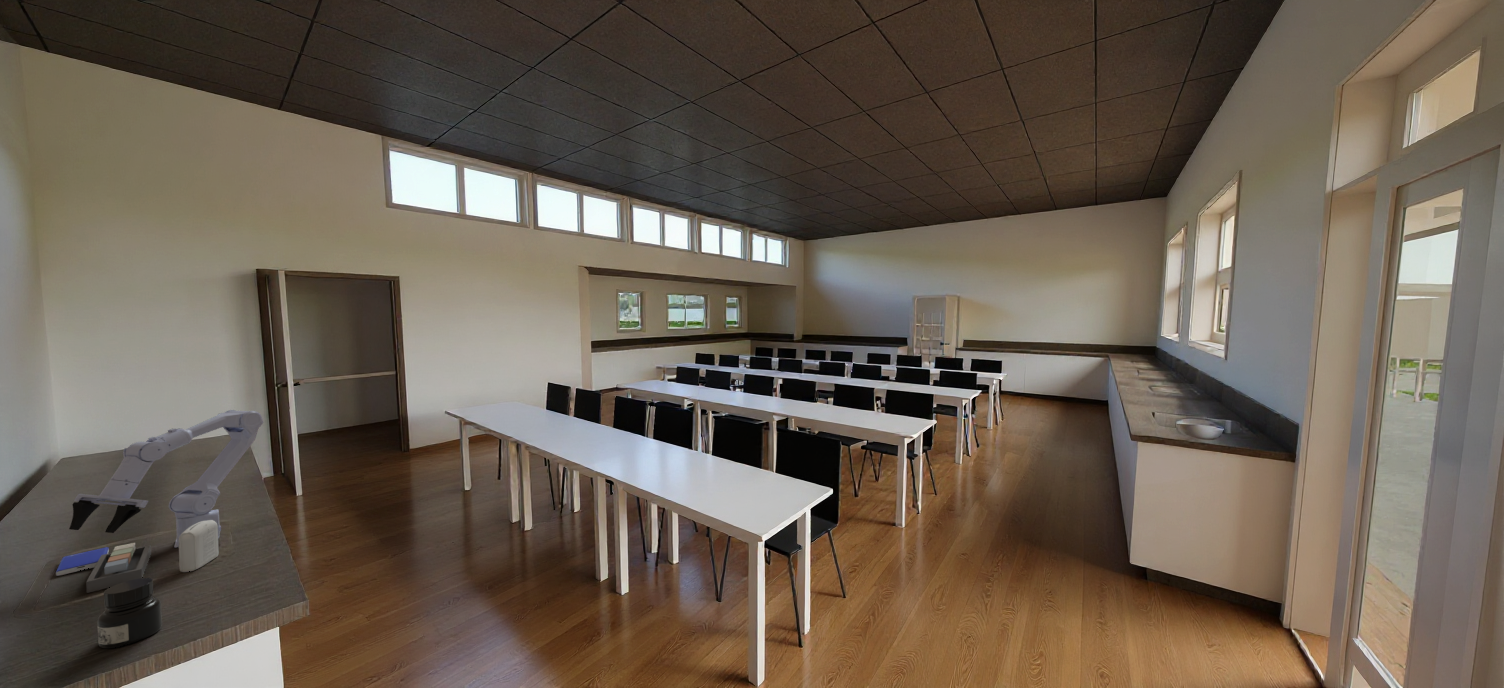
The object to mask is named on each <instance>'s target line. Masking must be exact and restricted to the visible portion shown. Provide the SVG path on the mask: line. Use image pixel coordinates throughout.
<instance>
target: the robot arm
mask: <svg viewBox="0 0 1504 688" xmlns="http://www.w3.org/2000/svg"><path fill="white" fill-rule="evenodd" d="M263 424H264V420H263V416H262V414H261V413H260V412H259V411H257V410H237V409H236V410H235V409H230V410H226V411H224V412H220V413H218V414H217V415H215V416H213V417H211V418H209V419H206V420H203V421H202V422H199V423H197V424H194V425H191V426H189V427H188V428H169V429H167V432H165V433H162V434H159V435H157V436H151V437H149V438H147V440H146V441H136V442H134V443H132V444H130V445H129V446H128V447H125V448H124V449H123V450H122V451H123V452H122V456H123V459H122V460H121V461H120V464H119V465H118V468H116V470H115V472H114V473H113V475H112V476H111V477H110V479H109V480H108V481H107V484H105V486H104V488H103V489H102V490H101V492H100V494H97V495H96V494H86V493H85V494H84V493H78V494H77V495H76V496H75V498H74V499H73V503H72V519H71V523H70V525H69V528H68V530H70V531H71V530H72V531H79V530H80V529H81V528H82V526H83V525H84V524H85V522H86V521H87V519H88V518H89V517H90V516H91V514H93V513H94V512H95V511H96V510H97V509H98V508H99V507H101V506H100V505H101V504H103V505H113V506H117V507H116V511H115V512H114V515H113V518H112V520H111V521H110V523H109V524H108V526H107V527H106V529H105V531H104V532H105V533H109V534H114V533H115V532H116V531H117V530H119V528H120V527H121V526H122V525H124V524H125V523H126V522H127V521H128V520H130V519H131V518H132V517H134V516H135V515H137V514H138V513H140V512H141V511H142V509H141V508H144V509H145V507H146V506H147V504H148V503H149V500H145V499H136V498H131V497H132V495H133V494H134V492H135V491H136V489H137V488H138V486H139V485H140V484H141V482H142V480H143V479H144V477H145V476H146V474H147V473H148V471H149V469H151V467H152V465H153V463H154V462H155V461H158V460H162V458H164V457H165V456H166V454H168V453H170V452H173V451H175V450H178V449H179V448H182V447H184V446H186V445H189V444H190V443H191V442H192V440H193V438H196V437H197V438H198V437H199V436H202V435H204V434H207V433H210V432H213V431H216V430H218V429H220V428H221V429H222V428H223V429H224V430H225V432H226V433H227V434H228V435H229V437H230V440H229V441H228V443H227V444H226V445H225V446H224V448H223V449H222V450H221V451H220V452H219V454H218V455H217V456H216V457H215V459H214V460H213V461H212V462H211V463H210V464H209V466H208V467H207V468H206V470H205V471H204V472H203V473H202V474H201V475H200V477H198V479H197V480H196V481H195V482H194V483H191V484H189V485H188V486H186V487H184V488H183V489H182V490H181V491H180V492H179V493H177V494H176V495H174V496H173V497H172V498H171V499H170V500H169V502H168V509H169V510H170V511H171V512H173V513H174V516H175V523H176V539H175V543H174V546H173V547H174V548H175V549H176V548H179V537H180V535H181V534H182V533H183V532H184V531H185V530H186V529H188V528H189V527H190V526H192V525H194V524H196V523H198V522H201V521H207V520H213V521H215V522H216V523H217V525H218V539H220V535H221V534H220V533H221V531H222V525H220V511H219V510H220V509H213V508H214V507H215V505H216V502H217V499H218V498H219V497H220V496H221V491H220V490H219V487H220V485H221V484H222V482H223V481H224V480H225V479H226V477H227V476H228V475H229V473H230V472H231V471H232V470H233V469H234V468H235V466H236V465H237V463H239V461H240V460H241V458H242V457H243V456H244V454H245V453H246V452H247V451H248V450H249V448H250V447H251V446H252V444H253V443H254V442H255V440H256V438H257V434H258V430H260V427H261V426H262V425H263Z"/></svg>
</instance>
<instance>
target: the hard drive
mask: <svg viewBox="0 0 1504 688" xmlns="http://www.w3.org/2000/svg"><path fill="white" fill-rule="evenodd" d="M109 551H110V549H109V547H107V546H105V547H101V548H98V549H93V550H88V551H84V552H79V553H75V554H70V555H65V556H63V557H62V558H61V560H60V563H59V565H58V567H57V569H56V571H55V576H63V575H64V576H65V575H67V574H71V573H76V572H80V570H81V571H85V570H88V568H89V569H94V567H95V566H96V564H97V562H98V560H99V559H100V557H101V555H104V554H109ZM84 569H85V570H84Z"/></svg>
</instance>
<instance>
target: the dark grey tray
mask: <svg viewBox="0 0 1504 688" xmlns="http://www.w3.org/2000/svg"><path fill="white" fill-rule="evenodd" d="M151 545H152V544H148V545H142V546H138V547H135V551H134V553H133V556H132V558H131V561H130V563H129V564H128V568H127V570H123V571H122V572H120V573H116V574H112V573H110V574H106V575H105V571H104V567H105V565H106V563H107V562H108V560H109V558H110V556H111V554H112V552H110V553H109V552H108V554H104V555H101V557H100V559H99V560H98V562H97V564H96V566H95V567H93V568H92V571H91V573H90V575H89V576H88V578H87V580H86V582H85V583H86V594H87V593H92V592H97V591H100V590H104V589H105V590H106V589H108V588H109V587H112V586H114V585H117V584H120V583H123V582H126V581H130V580H134V579H140V578H142V577H143V578H144V576H143V574H144V575H145V573H144V571H145V572H146V570H147V567H148V564H149V562H150V561H149V560H150V559H151V556H152V547H151ZM150 555H151V556H150ZM149 558H150V559H149ZM148 561H149V562H148ZM147 563H148V564H147ZM146 566H147V567H146ZM145 569H146V570H145Z"/></svg>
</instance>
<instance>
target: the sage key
mask: <svg viewBox="0 0 1504 688" xmlns="http://www.w3.org/2000/svg"><path fill="white" fill-rule="evenodd" d="M111 553H112V554H111V556H110V557H113V556H118V555H123V554H127V553H131V558H132V556H133V548H128V549H124V550H119V551H114V552H113V551H112V552H111Z"/></svg>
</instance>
